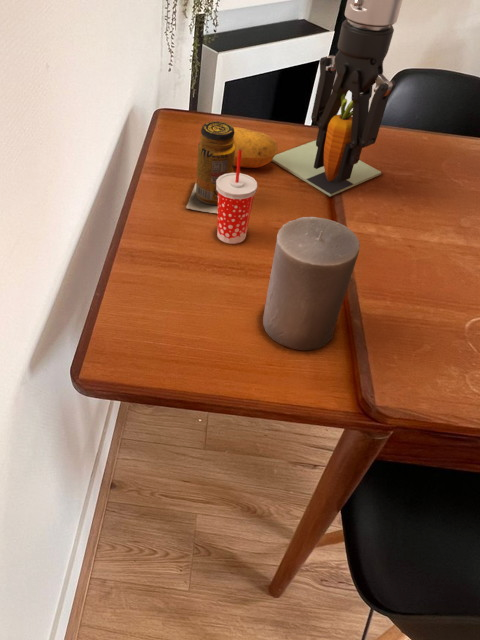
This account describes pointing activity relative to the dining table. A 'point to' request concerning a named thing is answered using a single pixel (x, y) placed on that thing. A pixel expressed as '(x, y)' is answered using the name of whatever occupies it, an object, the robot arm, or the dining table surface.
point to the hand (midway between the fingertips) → (331, 172)
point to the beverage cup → (234, 204)
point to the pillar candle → (309, 281)
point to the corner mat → (320, 169)
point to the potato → (253, 148)
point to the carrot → (337, 139)
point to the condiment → (212, 164)
